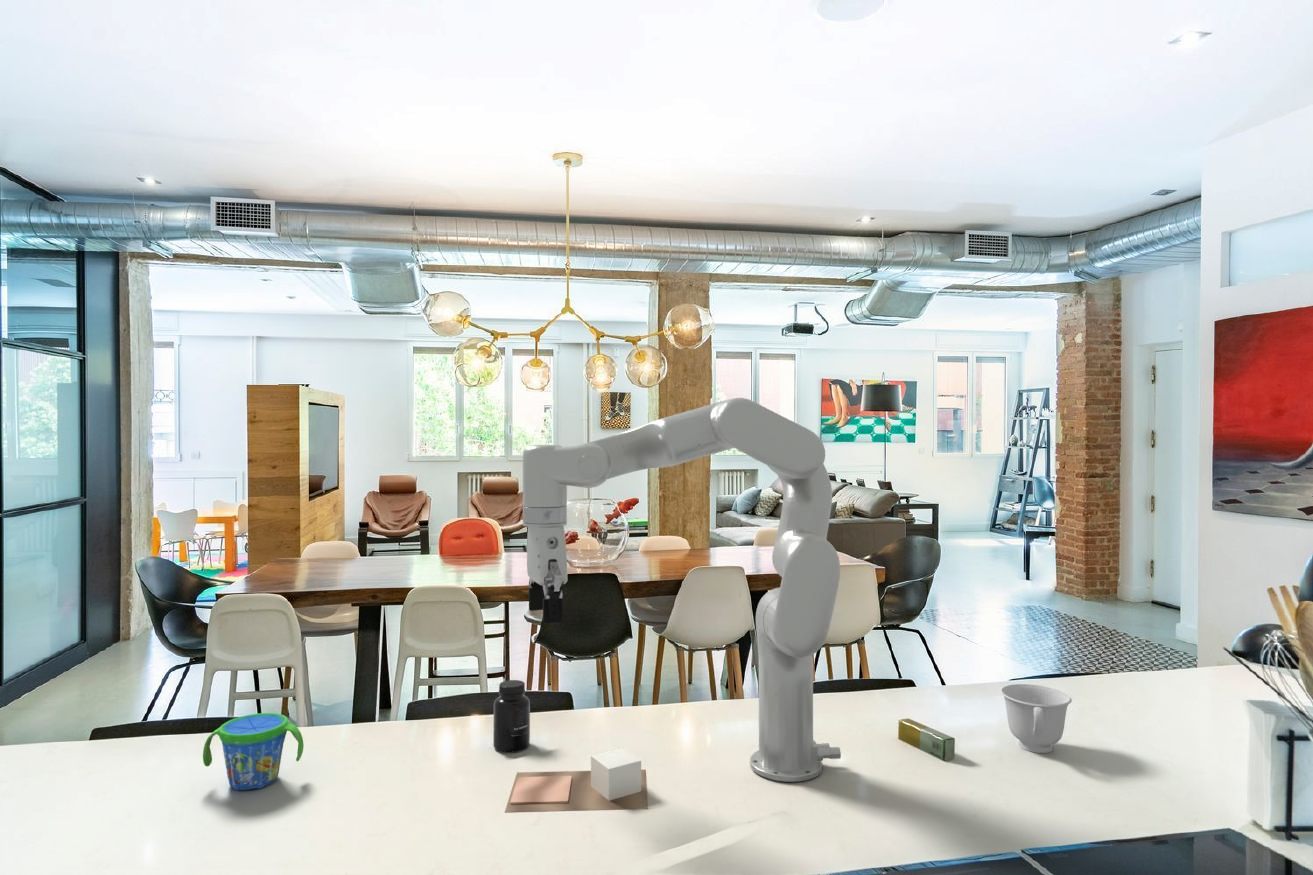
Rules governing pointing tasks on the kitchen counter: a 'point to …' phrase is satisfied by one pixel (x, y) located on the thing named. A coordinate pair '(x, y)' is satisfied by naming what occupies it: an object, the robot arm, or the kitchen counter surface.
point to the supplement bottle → (511, 717)
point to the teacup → (1035, 715)
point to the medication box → (926, 739)
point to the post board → (567, 793)
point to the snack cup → (253, 748)
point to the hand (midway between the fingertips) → (545, 615)
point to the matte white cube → (616, 773)
